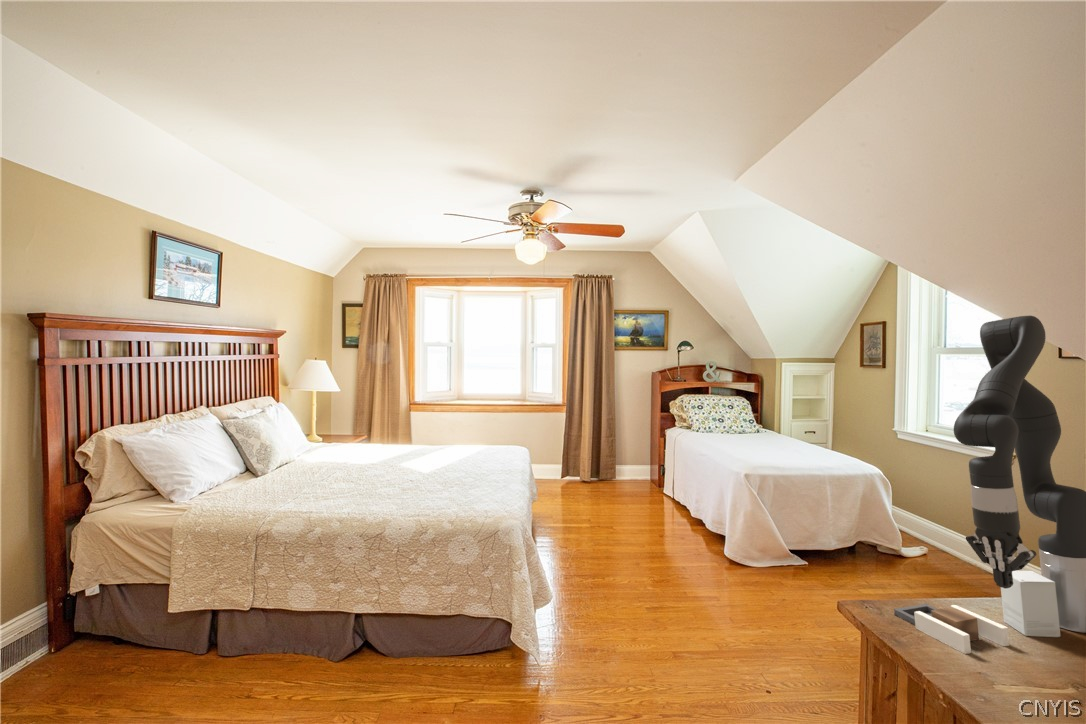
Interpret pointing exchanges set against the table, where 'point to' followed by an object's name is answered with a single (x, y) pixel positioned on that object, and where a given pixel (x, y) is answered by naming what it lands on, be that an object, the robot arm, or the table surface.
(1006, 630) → the white guide rails
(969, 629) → the walnut block
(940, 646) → the table surface
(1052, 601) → the supplement box
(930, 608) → the frame
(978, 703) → the table surface
